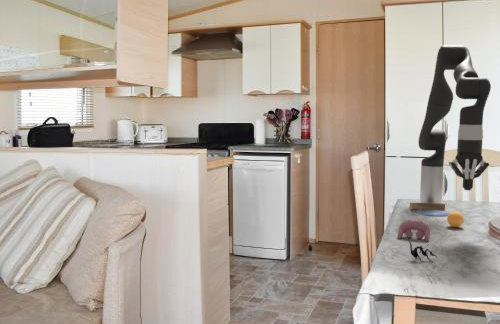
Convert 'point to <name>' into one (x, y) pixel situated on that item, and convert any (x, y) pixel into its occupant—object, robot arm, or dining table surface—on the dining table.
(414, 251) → the creature
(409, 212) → the dining table surface
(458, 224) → the ball
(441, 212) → the mark
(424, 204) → the strip
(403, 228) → the video game controller
